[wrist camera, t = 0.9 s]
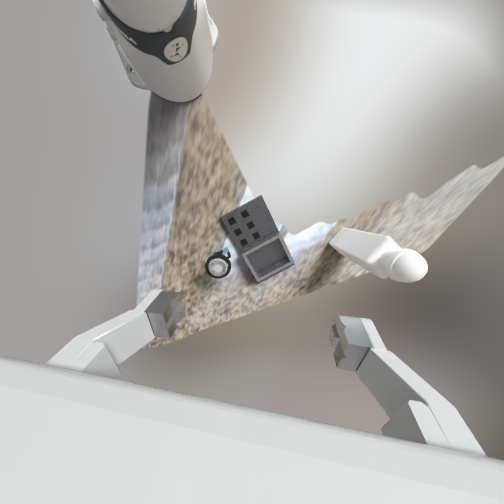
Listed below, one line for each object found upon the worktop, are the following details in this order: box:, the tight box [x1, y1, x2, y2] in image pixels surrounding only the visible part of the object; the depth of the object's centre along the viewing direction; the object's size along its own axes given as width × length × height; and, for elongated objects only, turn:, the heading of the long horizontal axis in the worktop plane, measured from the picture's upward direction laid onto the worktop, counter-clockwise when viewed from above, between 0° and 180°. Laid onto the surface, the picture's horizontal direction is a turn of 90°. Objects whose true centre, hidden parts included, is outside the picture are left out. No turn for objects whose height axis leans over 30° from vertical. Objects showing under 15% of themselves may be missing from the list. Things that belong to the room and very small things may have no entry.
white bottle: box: [329, 227, 428, 282], centre depth 40 cm, size 6×6×22 cm
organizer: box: [221, 195, 294, 283], centre depth 46 cm, size 20×11×4 cm, turn 28°
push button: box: [205, 248, 231, 278], centre depth 42 cm, size 7×5×10 cm
